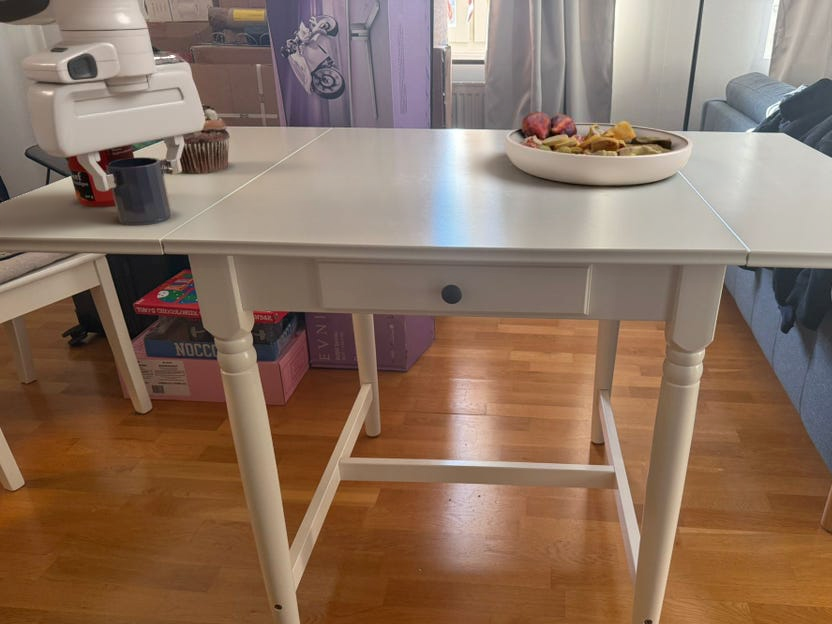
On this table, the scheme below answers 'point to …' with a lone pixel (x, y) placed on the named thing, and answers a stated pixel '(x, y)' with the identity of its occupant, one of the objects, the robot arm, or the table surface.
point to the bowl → (595, 151)
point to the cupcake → (206, 146)
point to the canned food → (85, 181)
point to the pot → (140, 191)
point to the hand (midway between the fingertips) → (141, 181)
